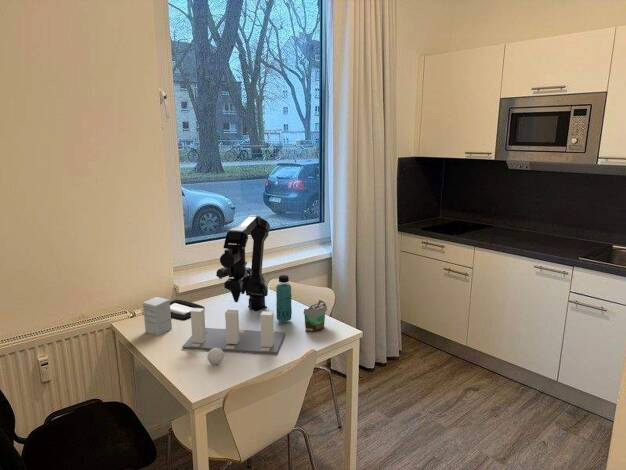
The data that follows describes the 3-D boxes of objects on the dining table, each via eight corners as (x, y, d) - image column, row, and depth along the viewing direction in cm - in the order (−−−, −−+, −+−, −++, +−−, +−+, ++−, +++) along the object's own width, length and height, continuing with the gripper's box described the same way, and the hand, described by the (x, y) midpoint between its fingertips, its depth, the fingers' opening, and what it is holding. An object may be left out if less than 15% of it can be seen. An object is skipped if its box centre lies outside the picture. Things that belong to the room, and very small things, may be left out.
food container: (316, 336, 165) (316, 312, 163) (303, 333, 169) (303, 309, 166) (332, 325, 176) (332, 302, 173) (319, 321, 179) (319, 299, 176)
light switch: (151, 308, 188) (175, 296, 199) (152, 314, 189) (176, 301, 200) (183, 318, 178) (207, 304, 190) (184, 324, 179) (208, 310, 191)
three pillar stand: (199, 329, 171) (197, 298, 168) (285, 334, 167) (284, 302, 164) (182, 349, 156) (179, 314, 153) (276, 354, 152) (276, 319, 149)
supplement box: (159, 325, 176) (156, 296, 173) (172, 328, 172) (170, 299, 169) (144, 332, 169) (141, 302, 166) (158, 336, 166) (155, 305, 163)
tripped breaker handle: (229, 339, 160) (227, 309, 157) (239, 340, 159) (238, 310, 157) (226, 343, 157) (225, 312, 154) (237, 344, 157) (235, 313, 154)
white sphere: (225, 358, 149) (224, 344, 148) (224, 367, 144) (223, 352, 142) (202, 360, 148) (201, 345, 147) (200, 368, 143) (199, 353, 141)
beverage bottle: (273, 323, 177) (272, 277, 172) (280, 317, 183) (279, 272, 178) (287, 326, 174) (287, 279, 170) (294, 320, 180) (294, 274, 176)
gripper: (225, 253, 179) (227, 289, 182) (210, 266, 161) (212, 305, 164) (251, 254, 178) (253, 290, 181) (238, 267, 160) (240, 307, 163)
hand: (239, 297), depth 172 cm, fingers open, 9 cm apart
